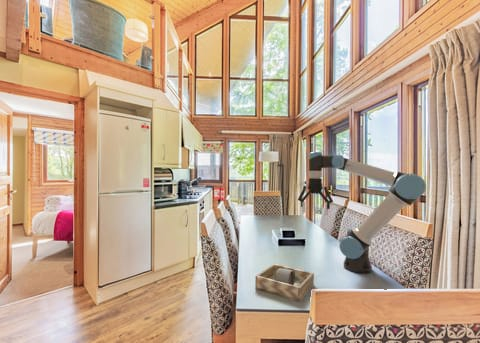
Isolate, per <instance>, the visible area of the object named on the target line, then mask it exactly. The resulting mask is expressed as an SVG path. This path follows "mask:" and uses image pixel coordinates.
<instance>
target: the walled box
mask: <svg viewBox="0 0 480 343" xmlns="http://www.w3.org/2000/svg"><path fill="white" fill-rule="evenodd" d="M279 268H282V269H288V270H293V271H294V272H295V283H294V285H291V284H287V283H283V282H279V281H276V280H275V272H276V270H277V269H279ZM314 275H315V273H314V272H311V271H308V270H307V271H306V270H302V269H298V268H294V267H289V266H286V265H280V264H277V263H272V264H271V265H270V266H268V267H267V268H265V269H264V270H262V271H261V272H260V273H258V274H256V275H255V285H254V286H255V289H256V290H259V291H262V292H266V293H269V294H271V295H275V296H278V297H281V298H286V299H289V300H291V301H296V302H298V303H301V301H303V299H304V297H306V295H307V294H308V293H309V292H310V290H311V289H312V288H313V287H314V283H315V280H314V278H315V276H314ZM311 287H312V288H311ZM310 288H311V289H310Z"/></svg>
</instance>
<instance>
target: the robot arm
mask: <svg viewBox="0 0 480 343" xmlns="http://www.w3.org/2000/svg"><path fill="white" fill-rule="evenodd" d="M308 155H309V156H308V185H303V187H302V190H301V192H300V194H299V196H298V198H297V201H299V202H300V207H301V208H302V214H304V213H306V202H305V200H307V198H308V197H309V196H310V195H311V194H315V195H317V194H319V196H321V198H322V199H323V201H325V205H324V206H325V211H324V212H325V216H328V214H329V210H330V209H331V208H330V207H331V206H330V205H331V204H333V203H334V200H333V197H332V196H331V194H330V192H329V189H328V186H323V181H322V180H323V179H322V178H323V169H337V170H339V171H344V172H347V173H350V174H353V175H356V176H359V177H362V178H365V179H368V180H371V181H374V182H378V183H381V184H383V185H387V186H389V187H390V188H389V189H388V192H387V193H388V195H387V196H386V197H385V198H384V199H383V200H382V201H381V202H380V203H379V204H378V205H377V206H376V208H375V209H373V210H372V212H371V213H370V214H369V215H368V216H367V217H366V218H365V219H364V220H363V221H362V222H361V224H359V225H358V227H352V228H351V227H349V228H347V231H346V235H345V236H344V237H342V238H341V239H340V242H339V249H340V250H339V251H340V253H341V254H342V255H343V256H345V259H344V261H343V268H345V269H346V270H347V271H350V272H353V273H358V274H369V273H372V272H373V266H372V262H371V259H370V256H369V252H370V249H369V248H370V246H371V245H372V244H373V243H372V240H373V239H374V238H375V237H376V236H377V235H378V234H379V232H381V230H383V229H384V228H385V226H387V224H389V223H390V221H391V220H393V219H394V218H395V216H396V215H398V214H399V213H400V211H402V209H403V208H405V207H409V206H411V205H412V204H414V203H415V202H416V201H417V199H419V198H420V197H421V196H423V195H424V194H425V192H426V189H427V184H426V181H425V179H423V178H422V177H421V176H420V175H418V174H416V173H405V172H401V171H397V172H394V171H390V170H387V169H383V168H380V167H377V166H374V165H371V164H366V163H364V162H360V161H356V160H352V159H349V158H346V157H344V155H343V154H329V155H323V153H322V152H321V151H312V152H309V154H308ZM307 190H308V192H307V193H306V191H307ZM322 190H323V191H324V193H325V194H326V195H325V194H324V193H323V191H322ZM305 193H306V194H305Z"/></svg>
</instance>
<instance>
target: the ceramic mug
mask: <svg viewBox="0 0 480 343" xmlns="http://www.w3.org/2000/svg"><path fill="white" fill-rule="evenodd" d="M275 280H276V281H279V282H283V283H287V284H291V285H294V283H295V272H294V271H293V270H288V269H282V268H279V269H277V270H276V272H275Z"/></svg>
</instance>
